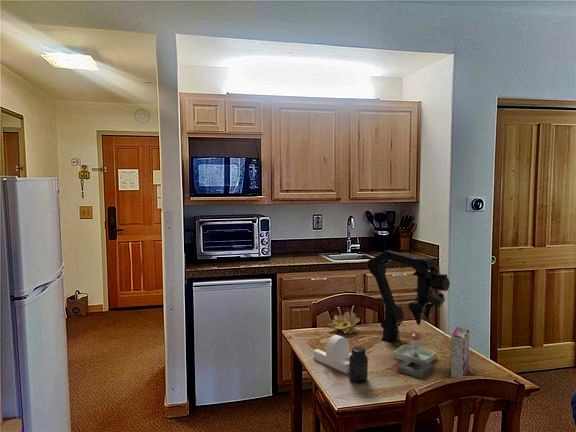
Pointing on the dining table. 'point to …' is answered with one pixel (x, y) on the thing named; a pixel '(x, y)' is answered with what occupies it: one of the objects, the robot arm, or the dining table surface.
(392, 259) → the robot arm
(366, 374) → the supplement bottle
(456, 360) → the candy bar box
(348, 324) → the decorative flower
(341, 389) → the dining table surface
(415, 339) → the salt shaker
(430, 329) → the dining table surface
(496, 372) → the dining table surface
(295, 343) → the dining table surface
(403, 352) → the tray
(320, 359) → the white tape roll holder
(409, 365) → the collar
